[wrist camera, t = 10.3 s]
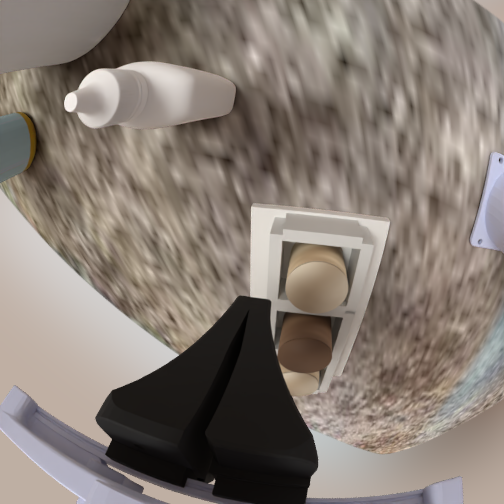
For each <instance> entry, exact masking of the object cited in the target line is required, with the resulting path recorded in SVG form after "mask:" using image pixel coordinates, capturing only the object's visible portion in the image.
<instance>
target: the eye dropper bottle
mask: <svg viewBox="0 0 504 504" xmlns="http://www.w3.org/2000/svg"><path fill="white" fill-rule="evenodd" d="M235 94H236V86H235V85H234V84H233V83H232V82H231V81H229V80H227V79H225V78H223V77H221V76H219V75H216V74H212V73H209V72H205V71H201V70H197V69H193V68H188V67H184V66H179V65H174V64H169V63H163V62H154V61H144V62H135V63H131V64H127V65H124V66H121V67H119V68H117V69H106V68H102V69H97V70H94V71H92V72H90V74H88V75H87V76H86V77H85V78H84V80H83V81H82V82H81V84H80V86H79V89H78V90H76V91H74V92H71V93H69V94H68V95H67V96H66V98H65V101H64V106H65V109H66V110H67V111H68V112H77V113H78V116H79V118H80V119H81V121H82V122H83V123H84V124H85V125H86V126H88V127H90V128H93V129H94V128H95V129H97V128H98V129H99V128H103V127H107V126H111V125H116V124H117V125H120V126H123V127H127V128H134V129H156V128H163V127H169V126H174V125H179V124H184V123H188V122H193V121H198V120H203V119H209V118H214V117H219V116H224V115H227V114H229V113H230V112H231V111H232V109H233V105H234V99H235Z"/></svg>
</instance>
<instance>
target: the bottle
mask: <svg viewBox="0 0 504 504" xmlns="http://www.w3.org/2000/svg"><path fill="white" fill-rule="evenodd" d="M36 142H37V140H36V132H35V128H34V125H33V123H32V121H31V119H30V118H29V117H27V116H26V115H25V114H24V113H22V112H17V113H12V114H9V115H5V116H2V117H0V183H1V182H3V181H5V180H7V179H9V178H11V177H13V176H15V175H17V174H20V173H22V172H23V171H25V170H27V169H28V168H29V167H30V165H31V163H32V160H33V158H34V156H35V152H36Z"/></svg>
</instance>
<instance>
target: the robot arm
mask: <svg viewBox="0 0 504 504" xmlns="http://www.w3.org/2000/svg"><path fill="white" fill-rule="evenodd" d="M499 158H500V162H499ZM479 239H480V241H479V242H478V240H479ZM470 243H471V244H472V246H476V247H482V248H488V249H493V250H499V251H502V252H503V254H504V155H502V154H500V153H497V152H492V153H491V155H490V160H489V166H488V171H487V176H486V181H485V186H484V190H483V194H482V198H481V202H480V206H479V210H478V214H477V217H476V221H475V224H474V227H473V230H472V234H471V237H470ZM271 303H272V302H271V301H270V300H269V299H263V298H255V297H247V296H238V297H237V298H236V300H235V301H234V302H233V304H232V305H231V306H230V307H229V309H228V310H227V311H226V312H225V313H224V314H223V316H222V317H221V318H220V319H219V320H218V321H217V322H216V323H215V324H214V325H213V326H212V327H211V328H210V329H209V330H208V331H207V332H206V333H205V334H204V335H203V336H202V337H201V338H200V339H199V340H198V341H196V342H195V343H194V344H193V345H192V346H191V347H189V348H188V349H187V350H186V351H184V352H183V353H182V354H180V355H179V356H178V357H176V358H175V359H173V360H172V361H170V362H169V363H167V364H166V365H164V366H162V367H161V368H159V369H157V370H156V371H154V372H152V373H150V374H148V375H146V376H144V377H143V378H141V379H139V380H137V381H134V382H132V383H130V384H127V385H125V386H123V387H120V388H117V389H115V390H112V391H111V393H110V394H109V395H108V397H107V398H106V400H105V402H104V403H103V405H102V407H101V408H100V410H99V412H98V414H97V416H96V422H97V424H98V425H99V426H100V427H101V428H102V429H103V430H104V431H105V432H106V433H107V434H108V435H109V436H110V437H111V438H112V441H111V443H110V445H109V447H106V446H104V445H102V444H100V443H98V442H97V441H94V440H93V439H91V438H89V437H87V436H85V435H84V434H82V433H80V432H78V431H76V430H75V429H73V428H71V427H70V426H68V425H66V424H64V423H63V422H61V421H60V420H58V419H56V418H55V417H54V416H52V415H51V414H49V413H48V412H46V411H44V410H43V409H42V408H40V407H39V406H38V405H37V403H36V402H35V401H34V400H33V399H32V398H31V397H30V396H29V395H27V394H26V393H25V392H24V391H22V390H21V389H20V388H18V387H17V386H16V385H14V386H13V388H12V389H11V391H10V392H9V393H8V395H7V396H6V398H5V400H4V401H3V402H2V404H1V405H0V429H1V431H2V432H3V433H4V434H5V435H6V436H7V437H9V439H10V440H12V442H13V443H14V444H15V445H17V447H19V448H20V449H21V450H22V451H23V452H24V453H25V454H26V455H27V456H28V457H29V458H30V459H31V460H32V461H33V462H35V463H36V464H37V465H38V466H39V467H40V468H42V469H43V470H44V471H45V472H46V473H48V474H49V475H50V476H51V477H53V478H54V479H55V480H56V481H58V482H59V483H60V484H62V485H63V486H64V487H66V488H67V489H68V490H70V491H71V492H73V493H74V494H76V495H77V496H78V497H79V498H78V501H77V503H76V504H168V503H165V502H163V501H160V500H157V499H155V498H152V497H149V496H147V495H144V494H142V492H143V489H144V488H143V487H142V486H140V485H138V484H136V483H134V482H133V481H131V480H129V479H128V478H127V477H125V476H124V475H122V474H121V473H119V472H117V471H115V470H113V469H111V468H109V467H108V465H111V466H113V467H115V468H117V469H119V470H121V471H123V472H125V473H128V474H130V475H132V476H135V477H137V478H139V479H142V480H144V481H147V482H149V483H152V484H154V485H157V486H160V487H163V488H166V489H168V490H172V491H174V492H178V493H181V494H184V495H188V496H191V497H195V498H198V499H202V500H205V501H209V502H214V503H218V504H463V486H462V477H461V476H458V477H455V478H452V479H448V480H444V481H440V482H437V483H434V484H431V485H429V486H427V487H425V488H424V489H420V490H416V491H410V492H404V493H397V494H390V495H382V496H372V497H360V498H334V499H333V498H332V499H331V498H306V497H307V490H308V488H309V486H310V479H311V476H312V475H313V474H314V472H315V471H316V470H317V468H318V456H317V450H316V447H315V443H314V439H313V435H312V433H311V432H310V430H309V428H308V427H307V425H306V423H305V422H304V420H303V418H302V416H301V414H300V413H299V411H298V409H297V407H296V405H295V403H294V400H293V398H292V396H291V394H290V391H289V389H288V387H287V384H286V382H285V379H284V376H283V374H282V371H281V368H280V364H279V361H278V357H277V354H276V350H275V345H274V341H273V335H272V329H271V319H270V317H271ZM107 464H108V465H107ZM214 479H215V480H216V481H215V484H214V485H212V484H208V483H210V482H211V481H213V480H214Z"/></svg>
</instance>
